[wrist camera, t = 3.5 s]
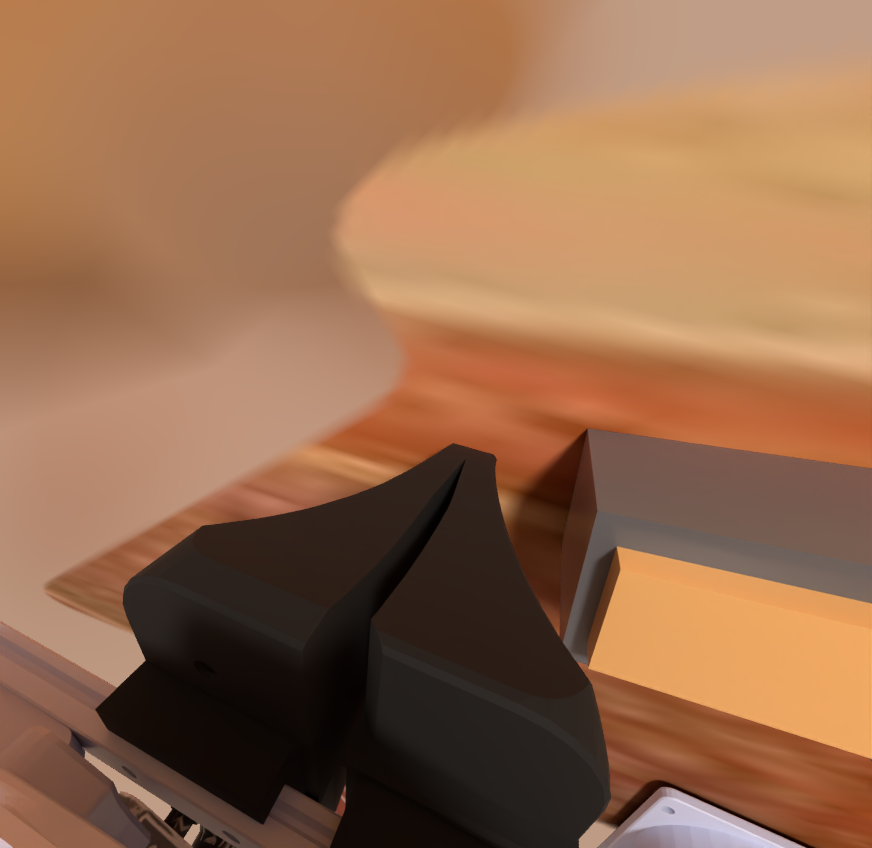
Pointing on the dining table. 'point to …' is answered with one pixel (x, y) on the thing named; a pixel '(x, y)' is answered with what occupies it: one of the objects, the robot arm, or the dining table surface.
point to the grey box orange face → (725, 581)
